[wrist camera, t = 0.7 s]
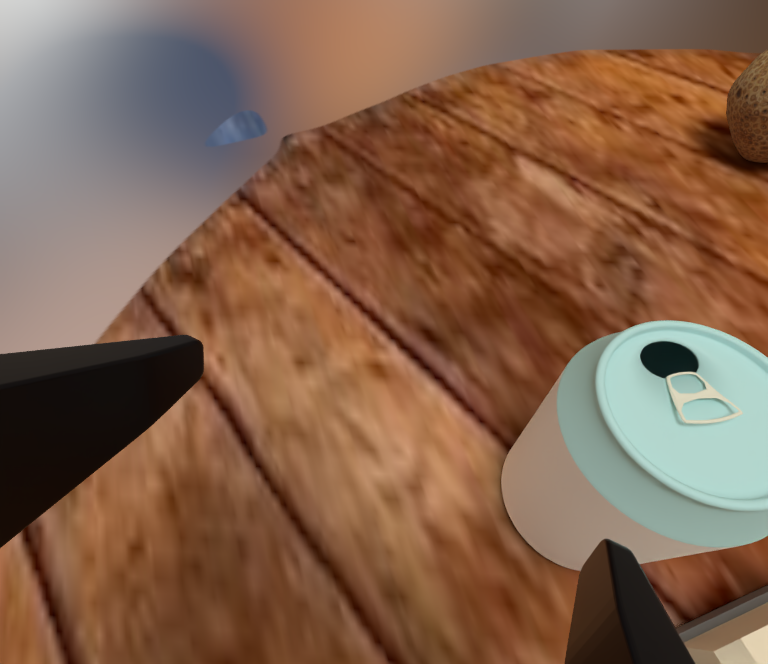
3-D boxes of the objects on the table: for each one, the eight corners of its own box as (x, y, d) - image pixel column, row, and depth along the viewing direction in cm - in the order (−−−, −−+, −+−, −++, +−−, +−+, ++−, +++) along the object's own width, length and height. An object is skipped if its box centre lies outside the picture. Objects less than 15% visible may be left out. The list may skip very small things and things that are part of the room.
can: (471, 497, 22) (527, 405, 12) (545, 406, 24) (642, 269, 14) (594, 609, 19) (804, 613, 9) (664, 493, 22) (887, 396, 12)
